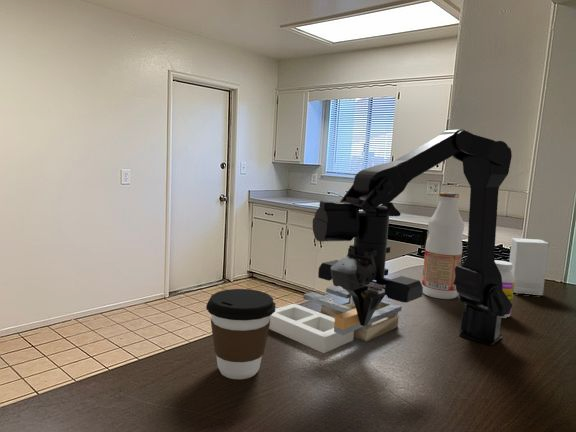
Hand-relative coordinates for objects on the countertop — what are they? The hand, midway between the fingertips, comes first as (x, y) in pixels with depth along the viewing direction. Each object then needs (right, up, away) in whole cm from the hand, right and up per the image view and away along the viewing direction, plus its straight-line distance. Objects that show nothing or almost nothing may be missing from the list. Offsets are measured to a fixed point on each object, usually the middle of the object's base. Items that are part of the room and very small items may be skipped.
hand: (363, 325), depth 77 cm
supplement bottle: (+36, -4, +26) cm, 45 cm away
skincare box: (+55, -3, +46) cm, 71 cm away
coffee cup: (-22, -5, -9) cm, 24 cm away
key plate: (-3, 0, +11) cm, 12 cm away
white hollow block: (-10, -4, +8) cm, 13 cm away
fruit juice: (+28, -2, +40) cm, 48 cm away
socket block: (+1, -3, +14) cm, 14 cm away
